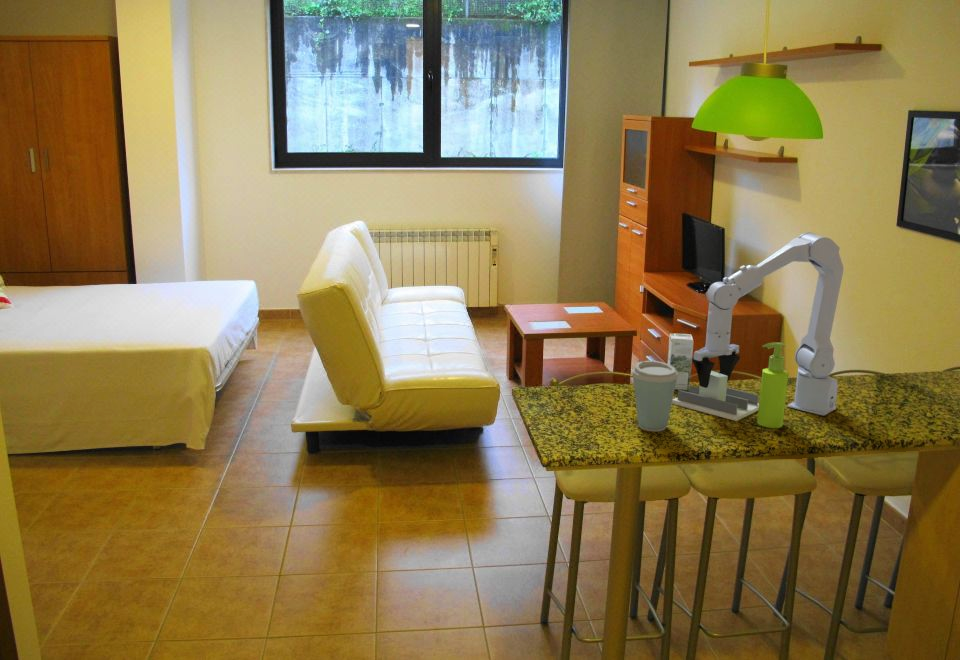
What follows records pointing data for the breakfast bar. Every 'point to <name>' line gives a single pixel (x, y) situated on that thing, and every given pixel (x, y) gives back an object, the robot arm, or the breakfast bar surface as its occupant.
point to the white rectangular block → (715, 387)
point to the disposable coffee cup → (654, 393)
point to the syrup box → (681, 358)
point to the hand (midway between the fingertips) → (713, 384)
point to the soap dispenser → (773, 389)
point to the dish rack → (719, 403)
